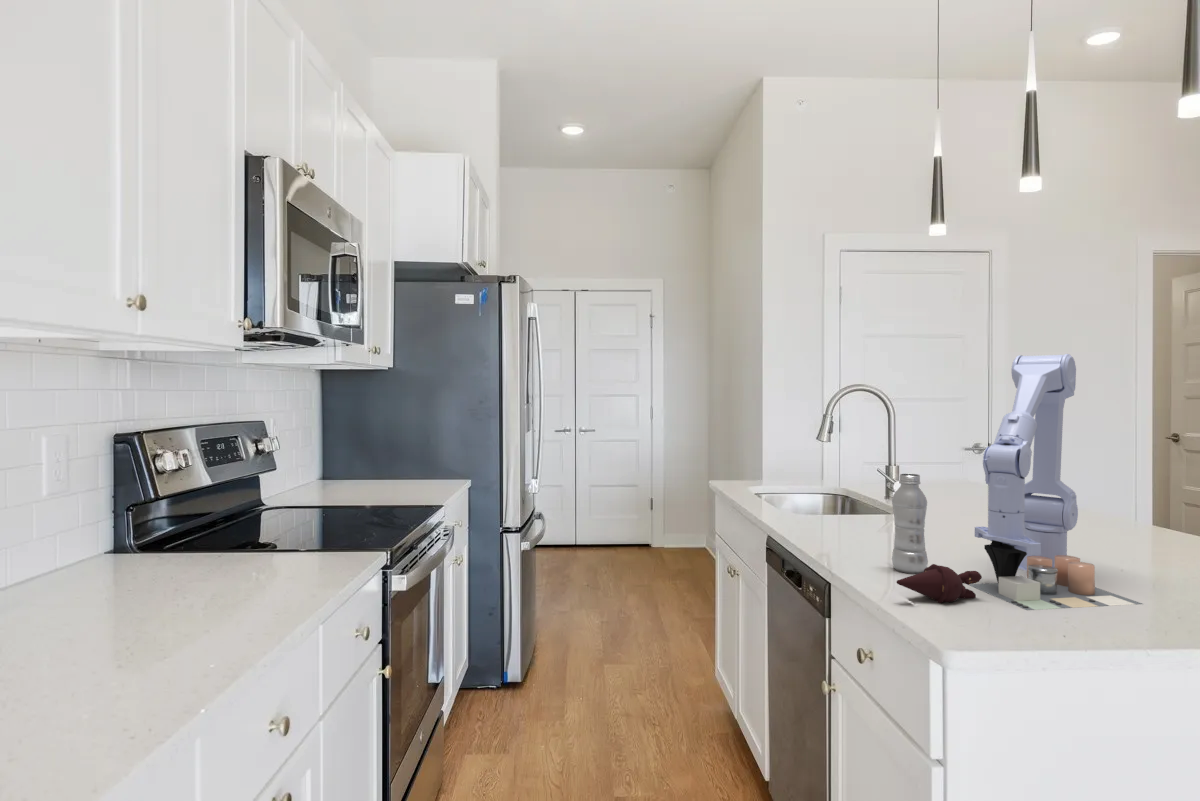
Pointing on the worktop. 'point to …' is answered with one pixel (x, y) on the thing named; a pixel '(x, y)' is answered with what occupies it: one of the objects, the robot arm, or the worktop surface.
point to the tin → (1044, 578)
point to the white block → (1019, 588)
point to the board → (1061, 598)
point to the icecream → (942, 583)
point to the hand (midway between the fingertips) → (1005, 585)
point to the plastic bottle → (909, 526)
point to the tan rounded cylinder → (1081, 578)
